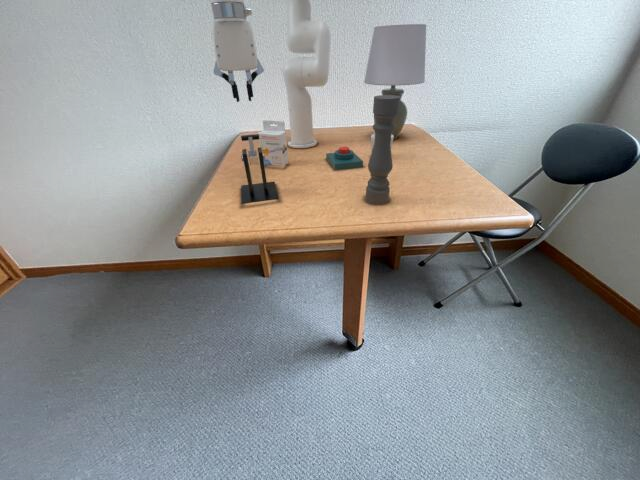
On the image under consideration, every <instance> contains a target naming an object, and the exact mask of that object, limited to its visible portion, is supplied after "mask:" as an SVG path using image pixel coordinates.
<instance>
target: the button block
mask: <svg viewBox="0 0 640 480" xmlns="http://www.w3.org/2000/svg"><path fill="white" fill-rule="evenodd" d="M325 159H326V161H327V162H328V164H329V165H330V166H331V167H332V168H333V170H334V171H340V170H341V171H343V170H349V169H350V170H352V169H358V168H363V167H364V160H363V159H362V158H360V156H358V155H357V154H356V153H355V152H354V151H353V150H352V149H349V153H348V154H340V153H339V149H337V150H335V151H334V152H326V153H325Z"/></svg>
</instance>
